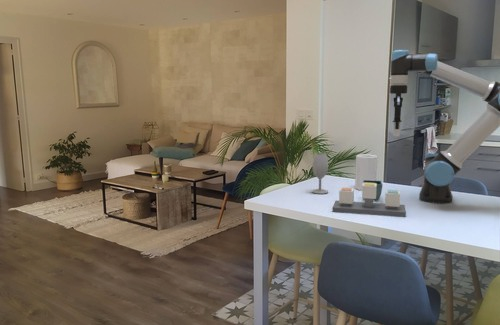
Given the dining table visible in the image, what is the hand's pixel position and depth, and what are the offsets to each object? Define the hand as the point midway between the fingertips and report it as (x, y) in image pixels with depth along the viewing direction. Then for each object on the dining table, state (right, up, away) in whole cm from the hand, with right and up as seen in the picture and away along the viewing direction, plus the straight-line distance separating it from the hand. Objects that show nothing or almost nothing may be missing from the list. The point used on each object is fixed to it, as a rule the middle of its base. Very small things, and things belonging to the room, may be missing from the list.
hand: (396, 136), depth 200 cm
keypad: (-15, -34, -7) cm, 38 cm away
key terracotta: (-24, -30, -4) cm, 39 cm away
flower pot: (-8, -31, +12) cm, 34 cm away
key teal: (-5, -31, -10) cm, 33 cm away
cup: (-5, -27, +36) cm, 45 cm away
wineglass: (-31, -29, +28) cm, 51 cm away
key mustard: (-15, -28, -8) cm, 33 cm away
